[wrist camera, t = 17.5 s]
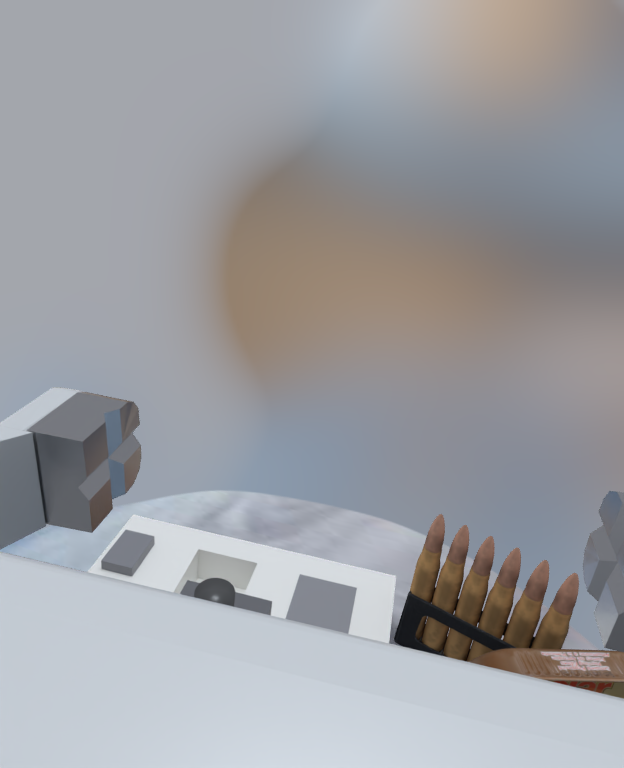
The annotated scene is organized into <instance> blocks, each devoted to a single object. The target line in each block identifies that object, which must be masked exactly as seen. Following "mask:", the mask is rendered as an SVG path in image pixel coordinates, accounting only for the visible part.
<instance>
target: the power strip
mask: <svg viewBox="0 0 624 768" xmlns="http://www.w3.org/2000/svg"><path fill="white" fill-rule="evenodd" d="M88 572H89V573H93V574H97V575H101V576H106V577H110V578H114V579H118V580H123V581H127V582H131V583H135V584H139V585H144V586H148V587H152V588H156V589H161V590H165V591H169V592H173V593H178V594H180V592H181V591H182V589H183V587H184V585H185V584H186V582H187V580H189V581H193V582H197V583H201V582H202V581H204V580H206V579H210V578H222V579H225V580H227V581H229V582H230V583H231V584H232V585H233V586H234V589H235V592H237V593H241V594H245V595H249V596H253V597H257V598H261V599H265V600H269V601H272V608H271V616H275V617H279V618H284V619H288V620H292V621H296V622H301V623H305V624H309V625H313V626H317V627H322V628H326V629H330V630H334V631H339V632H343V633H347V634H351V635H356V636H360V637H364V638H368V639H373V640H377V641H381V642H385V643H389V639H390V630H391V620H392V611H393V602H394V592H395V583H396V576H394V575H390V574H386V573H381V572H377V571H373V570H369V569H364V568H360V567H356V566H351V565H347V564H343V563H339V562H334V561H330V560H326V559H321V558H317V557H313V556H309V555H304V554H300V553H296V552H291V551H287V550H283V549H279V548H274V547H270V546H266V545H261V544H257V543H253V542H249V541H244V540H240V539H236V538H231V537H227V536H223V535H219V534H214V533H210V532H206V531H201V530H197V529H193V528H189V527H184V526H180V525H176V524H171V523H167V522H163V521H159V520H154V519H150V518H146V517H141V516H137V515H132V517H131V518H130V519H129V520H128V522H127V523H126V524H125V525H124V527H123V528H122V529H121V530H120V532H119V533H118V534H117V535H116V537H115V538H114V539H113V540H112V542H111V543H110V544H109V545H108V547H107V548H106V549H105V550H104V552H103V553H102V554H101V555H100V557H99V558H98V559H97V560H96V562H95V563H94V564H93V565H92V567H91V568H90V569H89V570H88Z"/></svg>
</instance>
